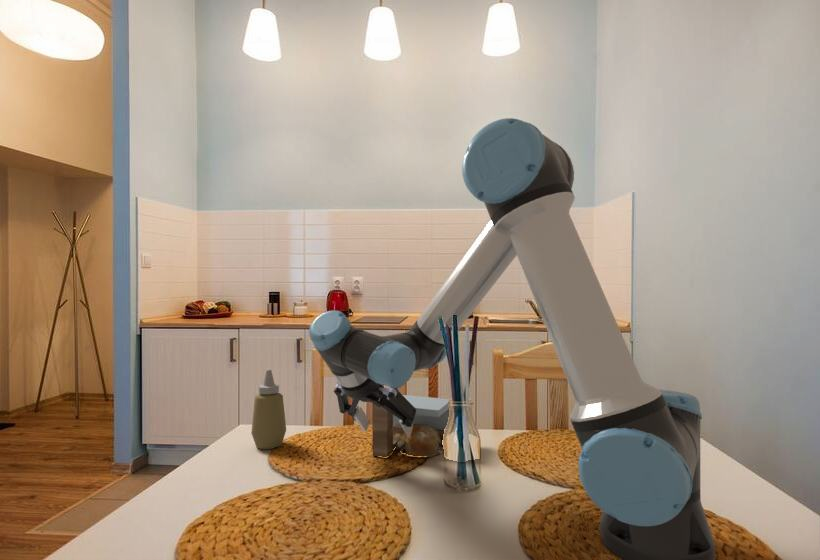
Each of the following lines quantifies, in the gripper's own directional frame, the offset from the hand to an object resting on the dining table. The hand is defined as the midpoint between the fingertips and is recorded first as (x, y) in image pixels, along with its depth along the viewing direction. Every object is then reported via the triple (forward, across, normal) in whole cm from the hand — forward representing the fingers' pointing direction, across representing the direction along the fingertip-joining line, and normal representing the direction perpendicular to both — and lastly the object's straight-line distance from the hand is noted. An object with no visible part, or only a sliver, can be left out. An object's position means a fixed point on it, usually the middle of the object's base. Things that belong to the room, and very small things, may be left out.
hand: (388, 428), depth 111 cm
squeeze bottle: (-1, +28, +8) cm, 29 cm away
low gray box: (+8, -4, -1) cm, 9 cm away
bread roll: (+6, -6, +2) cm, 9 cm away
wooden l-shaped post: (+6, -5, +2) cm, 8 cm away
